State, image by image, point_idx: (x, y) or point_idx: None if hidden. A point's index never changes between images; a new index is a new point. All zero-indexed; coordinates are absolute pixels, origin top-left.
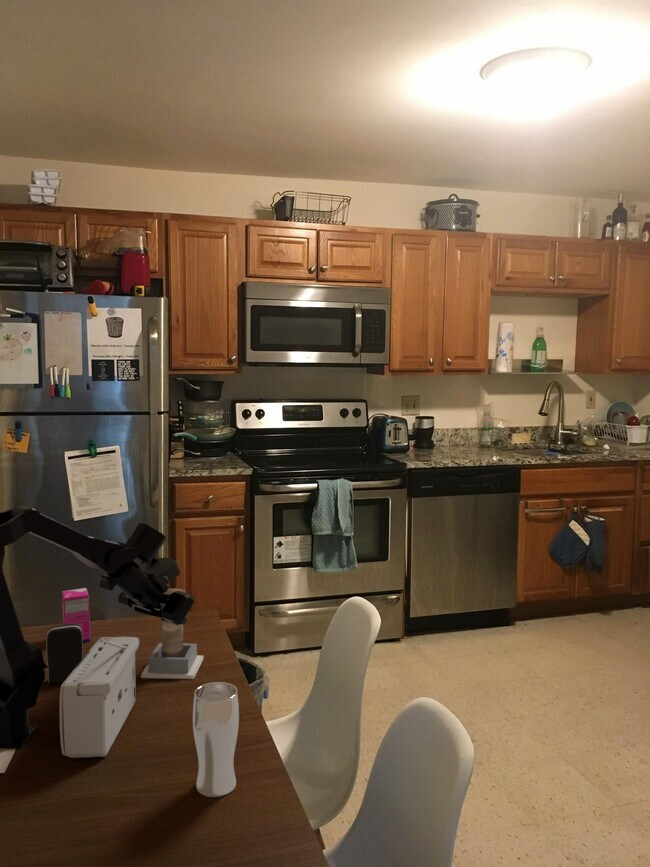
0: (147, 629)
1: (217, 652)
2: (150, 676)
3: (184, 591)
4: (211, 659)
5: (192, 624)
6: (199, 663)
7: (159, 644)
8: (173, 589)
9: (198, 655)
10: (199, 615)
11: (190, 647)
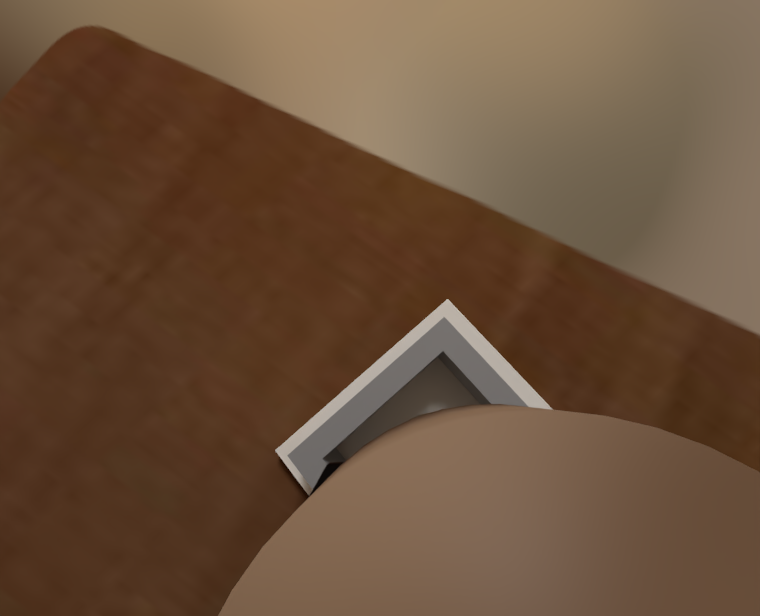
0: (13, 287)
1: (432, 222)
2: None
3: (730, 492)
4: (473, 281)
5: (126, 130)
6: (506, 361)
7: (306, 467)
8: (334, 607)
9: (432, 314)
10: (78, 62)
11: (465, 371)
